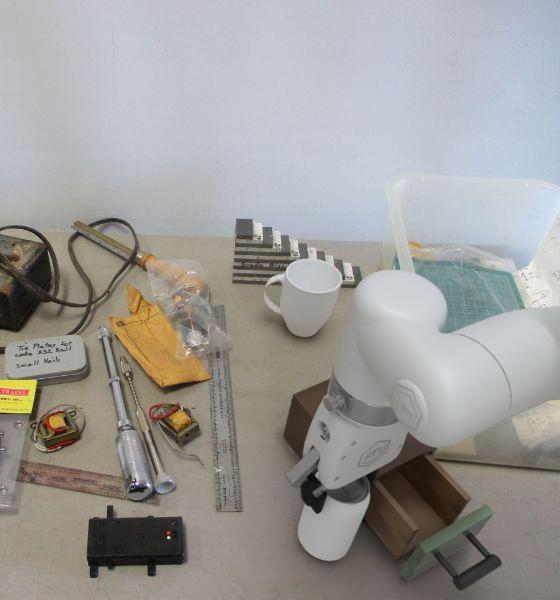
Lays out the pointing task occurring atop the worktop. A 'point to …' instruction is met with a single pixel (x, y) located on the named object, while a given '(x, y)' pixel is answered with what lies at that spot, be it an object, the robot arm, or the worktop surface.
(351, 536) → the can
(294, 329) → the mug
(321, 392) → the cabinet
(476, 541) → the drawer
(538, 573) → the worktop surface
